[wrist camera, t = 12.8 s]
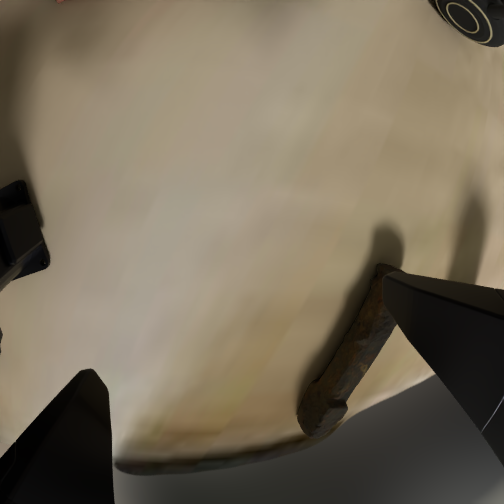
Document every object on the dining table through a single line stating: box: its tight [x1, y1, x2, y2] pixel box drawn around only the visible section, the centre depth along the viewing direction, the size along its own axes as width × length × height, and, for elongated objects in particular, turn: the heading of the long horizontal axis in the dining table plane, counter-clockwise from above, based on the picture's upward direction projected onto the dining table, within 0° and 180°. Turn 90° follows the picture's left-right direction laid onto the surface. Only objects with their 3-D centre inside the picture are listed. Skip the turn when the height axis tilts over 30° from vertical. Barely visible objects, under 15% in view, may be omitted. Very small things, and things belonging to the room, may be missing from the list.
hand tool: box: [297, 263, 408, 439], centre depth 23 cm, size 19×4×5 cm, turn 156°
